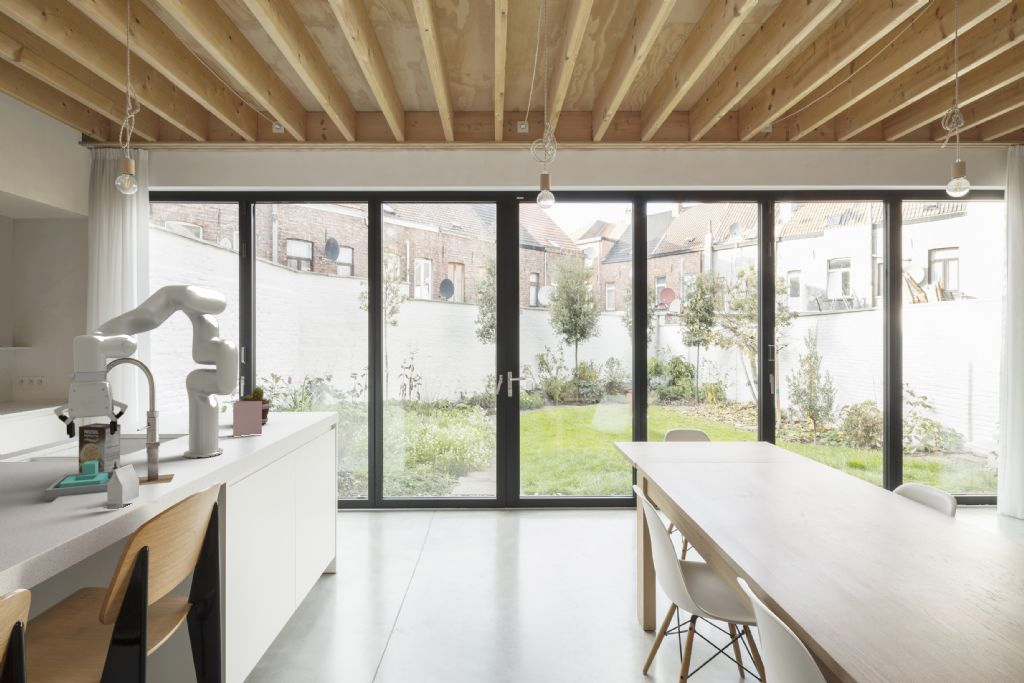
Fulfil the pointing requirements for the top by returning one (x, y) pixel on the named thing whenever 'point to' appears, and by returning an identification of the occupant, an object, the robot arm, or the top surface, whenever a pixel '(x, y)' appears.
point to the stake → (154, 467)
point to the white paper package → (122, 487)
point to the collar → (86, 476)
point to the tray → (74, 488)
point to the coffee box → (99, 446)
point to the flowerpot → (259, 397)
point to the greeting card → (247, 418)
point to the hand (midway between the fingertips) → (92, 435)
